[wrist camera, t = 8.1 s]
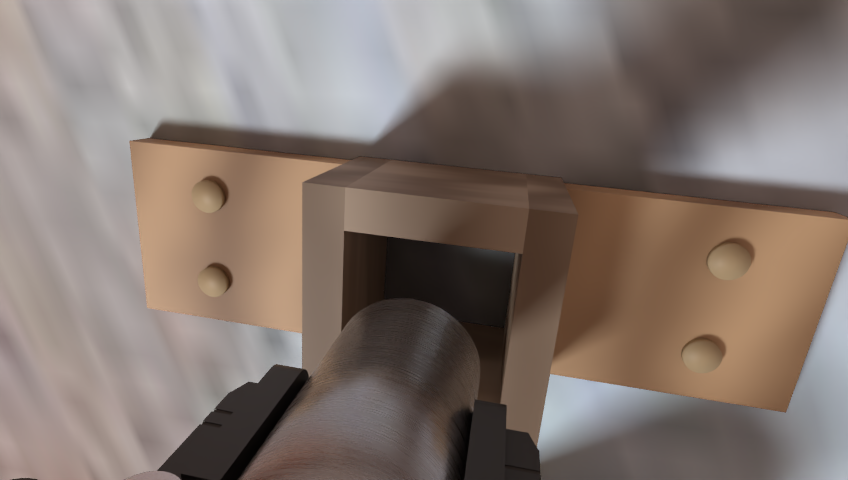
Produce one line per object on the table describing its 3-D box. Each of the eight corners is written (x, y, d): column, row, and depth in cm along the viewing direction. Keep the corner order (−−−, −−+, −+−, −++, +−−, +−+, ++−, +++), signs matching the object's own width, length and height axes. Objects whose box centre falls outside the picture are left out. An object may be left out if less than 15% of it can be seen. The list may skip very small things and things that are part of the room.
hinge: (836, 207, 18) (977, 260, 13) (769, 398, 21) (862, 513, 15) (148, 133, 23) (25, 150, 17) (164, 301, 25) (62, 364, 20)
